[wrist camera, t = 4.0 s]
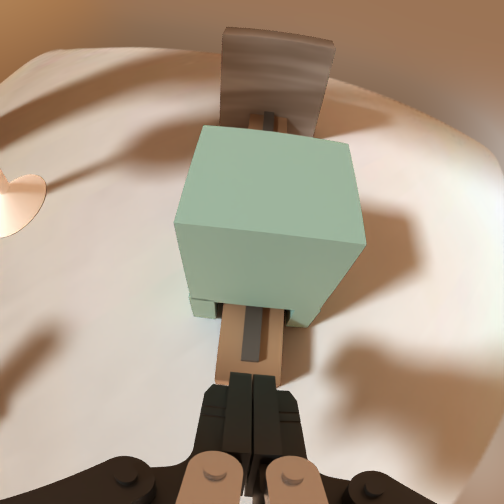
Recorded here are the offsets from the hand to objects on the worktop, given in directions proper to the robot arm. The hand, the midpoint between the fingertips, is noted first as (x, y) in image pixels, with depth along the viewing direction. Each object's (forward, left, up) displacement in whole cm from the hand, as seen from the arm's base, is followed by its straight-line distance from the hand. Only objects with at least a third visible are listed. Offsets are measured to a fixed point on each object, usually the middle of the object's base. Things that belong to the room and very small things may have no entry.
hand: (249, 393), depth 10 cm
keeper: (-6, +4, -5) cm, 9 cm away
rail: (-10, +7, -5) cm, 13 cm away
